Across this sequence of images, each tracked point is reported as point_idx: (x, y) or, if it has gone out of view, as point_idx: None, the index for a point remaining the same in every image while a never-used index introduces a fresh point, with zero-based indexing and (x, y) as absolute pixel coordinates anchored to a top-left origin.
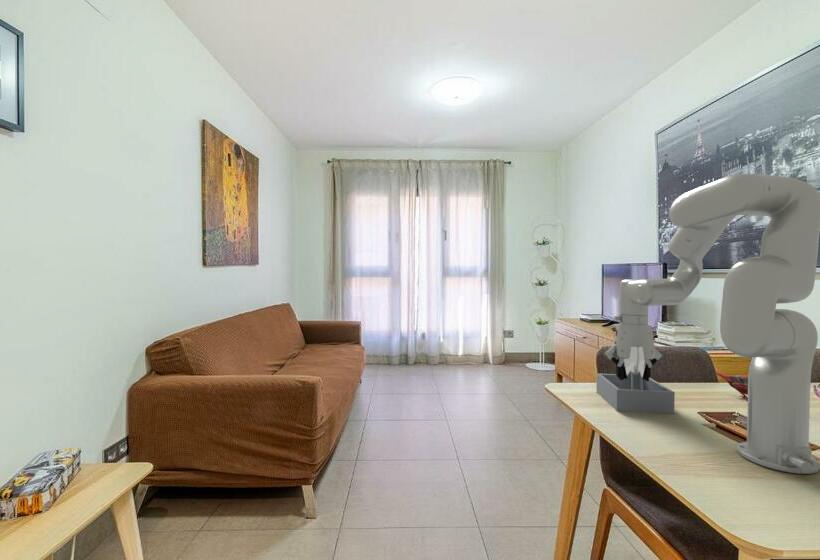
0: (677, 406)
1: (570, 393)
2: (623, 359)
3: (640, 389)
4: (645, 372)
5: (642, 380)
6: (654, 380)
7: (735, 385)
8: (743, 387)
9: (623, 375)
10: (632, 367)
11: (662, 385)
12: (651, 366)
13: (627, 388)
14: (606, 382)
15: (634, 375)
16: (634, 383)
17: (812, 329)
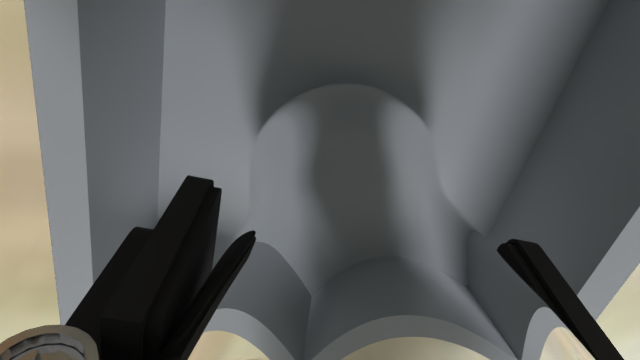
0: (22, 13)
1: (636, 323)
2: None
3: (324, 120)
4: (189, 281)
5: (281, 183)
6: (59, 276)
7: None
8: None
9: (532, 281)
10: (555, 325)
11: (43, 89)
12: (13, 357)
13: (437, 170)
14: (617, 274)
15: (443, 209)
16: (401, 160)
17: None
